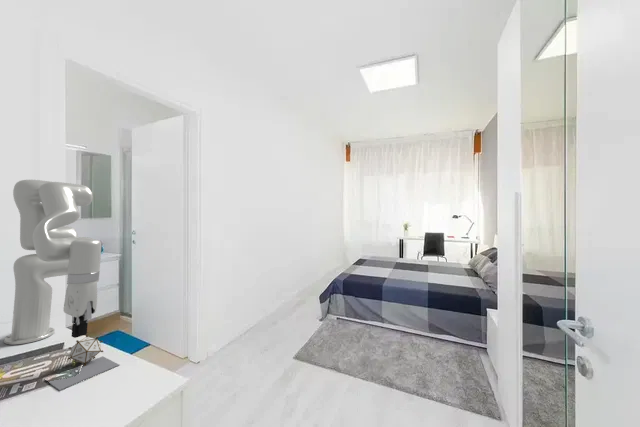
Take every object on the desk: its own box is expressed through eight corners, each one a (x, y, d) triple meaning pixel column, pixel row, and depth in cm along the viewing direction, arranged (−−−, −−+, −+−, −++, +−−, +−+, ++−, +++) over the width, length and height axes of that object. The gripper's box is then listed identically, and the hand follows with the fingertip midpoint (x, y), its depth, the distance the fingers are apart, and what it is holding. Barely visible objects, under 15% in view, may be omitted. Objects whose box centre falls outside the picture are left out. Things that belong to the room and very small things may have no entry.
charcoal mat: (43, 379, 72) (43, 378, 72) (102, 357, 85) (102, 356, 85) (59, 391, 68) (59, 389, 68) (119, 365, 80) (119, 364, 81)
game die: (72, 356, 84) (106, 359, 86) (52, 369, 76) (90, 372, 78) (81, 328, 85) (115, 332, 88) (63, 338, 77) (100, 342, 79)
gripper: (57, 276, 81) (52, 334, 80) (80, 283, 75) (75, 346, 74) (86, 273, 88) (82, 326, 87) (110, 278, 81) (105, 336, 81)
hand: (79, 335), depth 81 cm, fingers closed
